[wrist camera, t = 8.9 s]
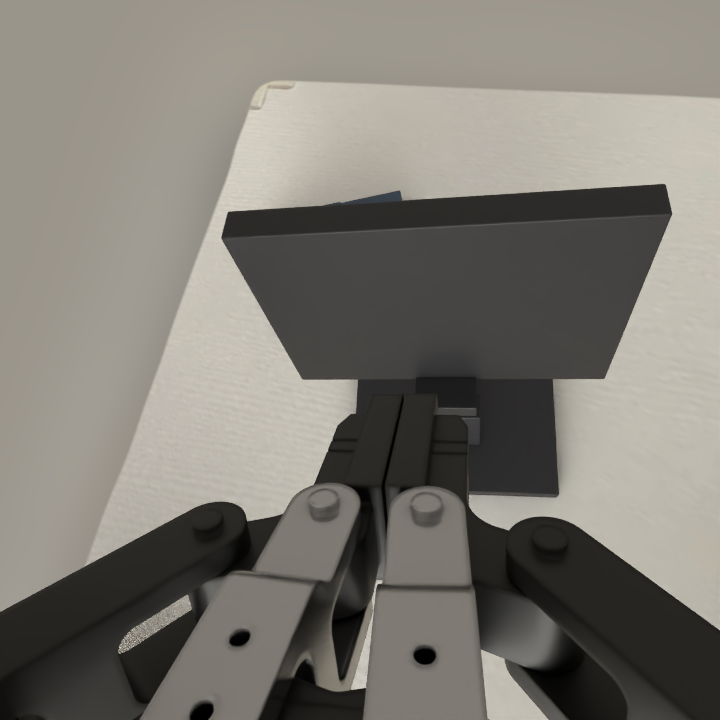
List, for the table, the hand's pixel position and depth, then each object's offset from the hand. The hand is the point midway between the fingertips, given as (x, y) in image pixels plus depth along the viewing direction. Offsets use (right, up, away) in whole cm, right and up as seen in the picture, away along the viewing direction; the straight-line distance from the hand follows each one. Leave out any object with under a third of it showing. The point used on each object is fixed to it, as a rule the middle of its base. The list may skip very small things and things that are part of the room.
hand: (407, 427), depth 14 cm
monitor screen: (+4, 0, +18) cm, 18 cm away
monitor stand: (+5, -2, +26) cm, 26 cm away
